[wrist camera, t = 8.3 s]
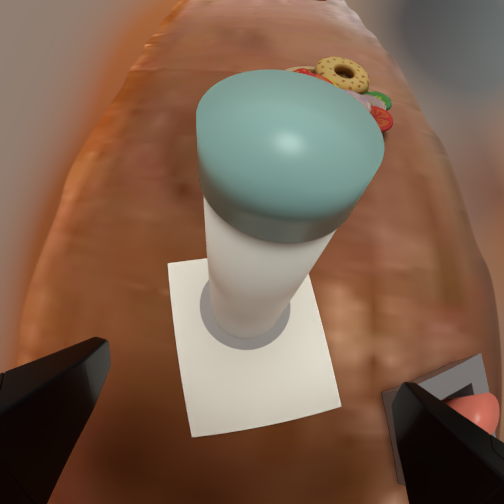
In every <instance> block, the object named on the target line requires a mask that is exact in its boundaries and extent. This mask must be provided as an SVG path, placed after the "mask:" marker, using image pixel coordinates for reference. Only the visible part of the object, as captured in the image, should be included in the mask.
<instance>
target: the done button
mask: <svg viewBox="0 0 504 504" xmlns="http://www.w3.org/2000/svg"><path fill="white" fill-rule="evenodd" d="M441 401H443V402H444V403H445V404H447V405H448V406H450V407H451V408H453V409H454V410H456V411H457V412H459V413H460V414H461V415H463V416H464V417H466V418H467V419H469V420H470V421H472V422H473V423H475V424H476V425H478V426H479V427H481V428H482V429H483V430H485V431H486V432H488V433H489V435H490V434H491V435H493V433H494V431H495V429H496V427H497V424H498V421H499V404H498V401H497V399H496V397H495V396H494V395H493V394H491V393H482V394H477V395H471V396H465V397H458V398H451V399H444V400H441Z"/></svg>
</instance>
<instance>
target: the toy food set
mask: <svg viewBox="0 0 504 504" xmlns="http://www.w3.org/2000/svg"><path fill="white" fill-rule="evenodd" d="M284 71H292V72H297V73H302V74H306V75H310V76H313V77H316V78H319V79H321V80H324V81H326V82H328V83H331V84H333V85H335V86H337V87H338V88H340V89H342V90H344V91H345V92H347V93H348V94H350V95H351V96H352V97H354V98H355V99H356V100H358V101H359V102H360V103H361V104H362V105H363V106H364V107H365V108H366V109H367V110H368V111H369V112H370V114H371V115H372V116H373V118H374V119H375V121H376V122H377V124H378V126H379V128H380V130H381V132H385V131H387V130H389V129H390V128H391V127H392V125H393V118H392V116H391V115H390V114H389V113H388V112H387V110H389V109H390V108H391V100H390V99H389V97H387V96H386V95H384V94H382V93H379V92H373V91H371V90H370V89H369V88H368V87H369V83H370V81H369V76H368V74H367V73H366V71H365V70H364V69H363V68H362V67H361V66H360V65H358V64H357V63H355V62H353V61H351V60H349V59H346V58H342V57H327V58H324V59H322V60H320V61H319V62H318V63H317V64H316V66H315V67H307V66H305V67H294V68H289V69H286V70H284ZM342 73H343V74H342ZM345 74H346V75H345ZM347 75H348V76H347Z"/></svg>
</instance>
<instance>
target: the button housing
mask: <svg viewBox="0 0 504 504" xmlns="http://www.w3.org/2000/svg"><path fill="white" fill-rule="evenodd" d="M410 382H415V383H417V384H418V385H419V386H421V387H422V388H424V389H425V390H427V391H428V392H429V393H431V394H432V395H434V396H435V397H437V398H438V399H440V400H442V399H443V398H445V397H447V399H451V398H458V397H465V396H471V395H477V394H482V393H489V388H488V383H487V378H486V374H485V369H484V365H483V360H482V356H481V353H479V354H476V355H473V356H470V357H467V358H463V359H460V360H457V361H454V362H452V363H450V364H448V365H446V366H444V367H442V368H439V369H437V370H435V371H433V372H431V373H428V374H426V375H424V376H422V377H419V378H417V379H415V380H412V381H410ZM400 386H401V385H400ZM400 386H397V387H395V388H392V389H390V390H387V391H384V392H382V398H383V402H384V407H385V412H386V416H387V421H388V426H389V432H390V437H391V442H392V448H393V453H394V459H395V465H396V472H397V478H398V483H399V484H402V485H405V480H404V476H403V471H402V467H401V462H400V458H399V454H398V449H397V444H396V437H395V430H394V422H393V416H392V409H391V405H392V401H393V399H394V397H395V395H396V393H397V392H398V390H399V388H400ZM492 436H494V437H495V438H496V435H495V431H494V433H493V435H492ZM405 486H406V485H405Z"/></svg>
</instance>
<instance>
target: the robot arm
mask: <svg viewBox="0 0 504 504" xmlns="http://www.w3.org/2000/svg"><path fill="white" fill-rule="evenodd" d="M110 365H111V360H110V349H109V342H108V341H107V340H106V339H103V338H99V337H93V338H90V339H88V340H85V341H83V342H80V343H78V344H75V345H73V346H70V347H68V348H65V349H63V350H60V351H58V352H55V353H53V354H50V355H47V356H45V357H42V358H40V359H37V360H35V361H32V362H29V363H27V364H24V365H22V366H19V367H16V368H14V369H11V370H8V371H6V372H5V374H4V373H1V374H0V504H47V503H48V500H49V498H50V496H51V494H52V492H53V489H54V487H55V485H56V483H57V481H58V479H59V477H60V474H61V472H62V470H63V468H64V466H65V464H66V462H67V460H68V458H69V456H70V454H71V452H72V450H73V448H74V446H75V444H76V442H77V440H78V438H79V436H80V434H81V432H82V430H83V428H84V426H85V424H86V423H87V421H88V419H89V417H90V415H91V413H92V411H93V409H94V407H95V404H96V402H97V399H98V397H99V394H100V392H101V389H102V387H103V384H104V382H105V379H106V377H107V374H108V372H109V369H110ZM391 409H392V416H393V422H394V430H395V437H396V444H397V449H398V454H399V458H400V462H401V467H402V471H403V476H404V480H405V485H406V490H407V495H408V500H409V504H504V443H503V442H501V441H500V440H498V439H497V438H495V437H494V436H492V435H491V434H490V435H489V433H488V432H486V431H485V430H483V429H482V428H481V427H479V426H478V425H476V424H475V423H473V422H472V421H470V420H469V419H467V418H466V417H464V416H463V415H461V414H460V413H459V412H457V411H456V410H454V409H453V408H451V407H450V406H448V405H447V404H445V403H444V402H443V401H441V400H440V399H438V398H437V397H435V396H434V395H432V394H431V393H429V392H428V391H427V390H425V389H424V388H422V387H421V386H419V385H418V384H417V383H415V382H404V383H402V384H401V386H400V388H399V390H398V392H397V393H396V395H395V397H394V399H393V401H392V405H391Z"/></svg>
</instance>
